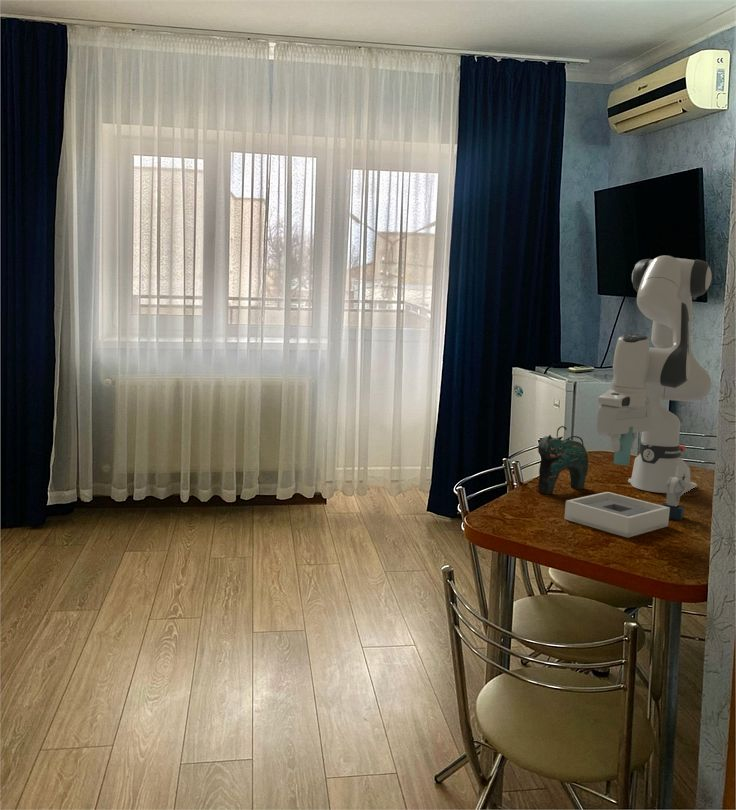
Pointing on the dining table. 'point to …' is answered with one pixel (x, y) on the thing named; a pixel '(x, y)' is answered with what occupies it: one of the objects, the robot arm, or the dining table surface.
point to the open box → (617, 514)
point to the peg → (624, 449)
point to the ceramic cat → (561, 462)
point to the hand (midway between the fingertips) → (622, 450)
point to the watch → (675, 497)
